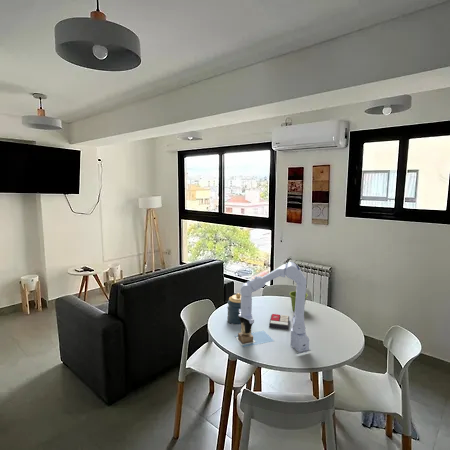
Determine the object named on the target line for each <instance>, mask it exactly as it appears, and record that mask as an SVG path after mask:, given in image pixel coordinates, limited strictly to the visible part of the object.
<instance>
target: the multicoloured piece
mask: <svg viewBox="0 0 450 450" xmlns="http://www.w3.org/2000/svg"><path fill="white" fill-rule="evenodd" d="M269 319H270V320H269V325H268V328H270V329H277V330H284V331H285V330H286V331H287V330H289V327H290V316H289V315H287V314H277V313H272V314H271V315H270V318H269Z"/></svg>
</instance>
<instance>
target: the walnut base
mask: <svg viewBox="0 0 450 450" xmlns="http://www.w3.org/2000/svg"><path fill="white" fill-rule="evenodd" d="M237 335H238V339H239V340H240V341H241V342H242V344H244V343H249V342H253V336H252V335H251V334H249V335H244V334H243V333H242V332H241V331H240V332H238V333H237Z"/></svg>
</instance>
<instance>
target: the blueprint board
mask: <svg viewBox="0 0 450 450" xmlns="http://www.w3.org/2000/svg"><path fill="white" fill-rule="evenodd" d="M251 335H252V336H253V342H249V343H244V344H242V342H241V341H240V340H239V339H238V334H237V335H234V338H235V339H236V340H237V341H238V343H239V344H240V345H241V346H242V348H245V347H250V346H257V345H261V344H266V343H271V342H275V340H274V339H273V338H272V337H271V336H270V335H269V334H268V333H267V332H266V331H264V330H260V331H255V332H253V331H252V332H251Z"/></svg>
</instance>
